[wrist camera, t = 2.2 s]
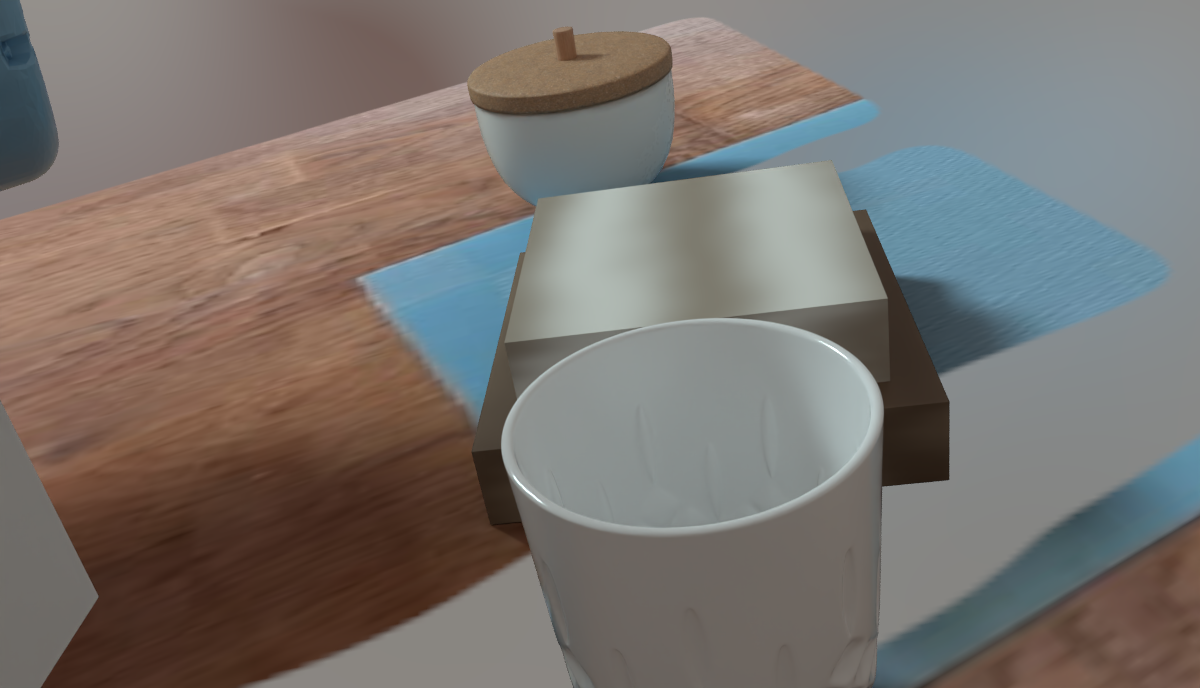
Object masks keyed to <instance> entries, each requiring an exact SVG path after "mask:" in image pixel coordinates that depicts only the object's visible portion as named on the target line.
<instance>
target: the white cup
mask: <svg viewBox="0 0 1200 688" xmlns="http://www.w3.org/2000/svg"><path fill="white" fill-rule="evenodd" d="M883 429H884V405H883V399H882V395H881V391H880V389H879V386H878V384H877V382H876V380H875V379H874V377H873V375H872V374H871V373H870V371H869V370H868V369H867V368H866V366H865V365H864V364H863V363H862V362H861V361H860V360H859V359H858V358H856V357H855V356H854V355H853V354H851V353H850V352H849V351H847V350H846V349H844V348H843V347H841V346H840V345H838V344H836V343H834V342H832V341H830V340H828V339H826V338H824V337H822V336H819V335H817V334H814V333H812V332H809V331H806V330H803V329H800V328H796V327H792V326H788V325H784V324H779V323H774V322H768V321H761V320H752V319H739V318H704V319H690V320H681V321H674V322H667V323H661V324H656V325H651V326H647V327H642V328H638V329H635V330H631V331H627V332H624V333H621V334H618V335H615V336H612V337H609V338H606V339H604V340H601V341H599V342H596V343H594V344H592V345H589V346H587V347H585V348H583V349H581V350H579V351H577V352H575V353H573V354H571V355H569V356H568V357H566V358H564V359H563V360H561V361H559V362H558V363H556V364H555V365H553V366H552V367H551V368H549V369H548V370H547V371H545V372H544V373H543V374H541V375H540V376H539V377H538V378H537V379H536V380H534V381H533V382H532V383H531V384H530V385H529V386H528V387H527V388H526V390H525V391H524V392H523V393H522V394H521V395H520V397H519V398H518V399H517V401H516V402H515V404H514V405H513V407H512V409H511V410H510V412H509V414H508V416H507V419H506V421H505V424H504V427H503V431H502V438H501V452H502V458H503V462H504V466H505V469H506V472H507V475H508V478H509V482H510V485H511V488H512V491H513V495H514V498H515V501H516V505H517V508H518V511H519V514H520V518H521V521H522V524H523V527H524V531H525V534H526V537H527V541H528V544H529V547H530V551H531V554H532V558H533V561H534V564H535V567H536V571H537V574H538V578H539V581H540V585H541V588H542V591H543V595H544V598H545V602H546V605H547V608H548V611H549V615H550V618H551V622H552V625H553V628H554V632H555V635H556V638H557V641H558V643H559V645H560V647H561V649H562V652H563V656H564V659H565V663H566V666H567V669H568V673H569V676H570V679H571V682H572V685H573V688H872V686H873V684H874V681H875V676H876V664H877V636H878V625H879V609H880V573H881V571H880V570H881V516H882V513H881V512H882V468H883Z"/></svg>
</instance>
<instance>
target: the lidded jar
mask: <svg viewBox="0 0 1200 688" xmlns="http://www.w3.org/2000/svg"><path fill="white" fill-rule="evenodd" d="M553 36H554V39H552V40H547V41H542V42H538V43H535V44H531V45H528V46H524V47H521V48H518V49H514V50H512V51H509V52H507V53H504V54H502V55H499V56H497V57H495V58H493V59H491V60H489V61H487V62H486V63H484V64H482V65H481V66H479V67H478V68H476V69H475V70H474V71H473V72H472V73H471V75H470V77H469V78H468V83H467V86H468V91H469V95H470V98H471V101H472V102H473V104H474V106H475V111H476V116H477V120H478V124H479V128H480V131H481V135H482V138H483V141H484V143H485V146H486V149H487V152H488V154H489V156H490V158H491V160H492V162H493V164H494V166H495V168H496V170H497V172H498V173H499V175H500V176H501V178H502V179H503V180H504V182H505V183H506V184H507V185H508V186H509V187H510V188H511V189H512V190H513V191H514V192H515V193H516V194H517V195H518V196H520V197H521V198H522V199H524V200H525V201H527V202H528V203H530V204H532V205H534V206H537V201H538V198H546V197H554V196H561V195H569V194H577V193H584V192H592V191H600V190H607V189H615V188H622V187H630V186H638V185H645V184H651V182H652V181H653V180H654V179H655V178H656V176H657V175H658V173H659V172H660V170H661V169H662V167H663V165H664V163H665V160H666V158H667V156H668V154H669V151H670V147H671V143H672V139H673V131H674V102H675V100H674V88H673V79H672V71H671V69H672V52H671V47H670V45H669V44H668V43H667V42H666V41H665V40H664V39H662V38H660V37H657V36H655V35H650V34H646V33H637V32H623V31H622V32H598V33H589V34H581V35H573V29H572V27H561V28H557V29H555V30H553Z"/></svg>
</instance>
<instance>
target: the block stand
mask: <svg viewBox="0 0 1200 688" xmlns="http://www.w3.org/2000/svg"><path fill="white" fill-rule="evenodd" d="M704 318H739V319H752V320H761V321H768V322H774V323H779V324H784V325H788V326H792V327H796V328H800V329H803V330H806V331H809V332H812V333H814V334H817V335H819V336H822V337H824V338H826V339H828V340H830V341H832V342H834V343H836V344H838V345H840V346H841V347H843V348H844V349H846V350H847V351H849V352H850V353H851V354H853V355H854V356H855V357H856V358H858V359H859V360H860V361H861V362H862V363H863V364H864V365H865V366H866V368H867V369H868V370H869V371H870V373H871V374H872V375H873V377H874V379H875V380H876V382H877V384H878V386H879V389H880V391H881V395H882V399H883V405H884V429H883V468H882V486H893V485H902V484H913V483H924V482H933V481H944V480H949V400H948V398H947V395H946V393H945V391H944V388H943V386H942V383H941V381H940V379H939V377H938V374H937V372H936V370H935V367H934V365H933V363H932V360H931V358H930V356H929V353H928V351H927V349H926V347H925V344H924V342H923V340H922V337H921V335H920V333H919V330H918V328H917V326H916V324H915V321H914V319H913V317H912V314H911V312H910V310H909V307H908V305H907V303H906V301H905V298H904V296H903V294H902V291H901V289H900V287H899V284H898V282H897V280H896V277H895V275H894V273H893V271H892V268H891V266H890V264H889V261H888V259H887V257H886V254H885V252H884V250H883V248H882V245H881V243H880V241H879V238H878V236H877V234H876V231H875V229H874V227H873V225H872V222H871V220H870V218H869V215H868V213H867V211H866V210H858V211H852V209H851V206H850V204H849V201H848V199H847V197H846V194H845V192H844V189H843V187H842V184H841V182H840V179H839V177H838V174H837V172H836V170H835V167H834V165H833V162H832V160H829V161H821V162H813V163H806V164H798V165H791V166H783V167H775V168H768V169H760V170H753V171H745V172H737V173H729V174H722V175H714V176H706V177H699V178H691V179H684V180H676V181H668V182H661V183H653V184H645V185H638V186H630V187H622V188H615V189H607V190H600V191H592V192H584V193H577V194H569V195H561V196H554V197H546V198H538V201H537V206H536V210H535V214H534V218H533V223H532V227H531V231H530V235H529V240H528V244H527V248H526V252H523V253H520V256H519V260H518V264H517V268H516V272H515V276H514V280H513V284H512V288H511V292H510V297H509V301H508V305H507V309H506V313H505V317H504V321H503V325H502V329H501V333H500V337H499V342H498V346H497V350H496V354H495V358H494V362H493V366H492V370H491V374H490V378H489V383H488V387H487V391H486V395H485V399H484V403H483V407H482V411H481V415H480V419H479V423H478V428H477V432H476V436H475V440H474V444H473V448H472V455H473V459H474V463H475V467H476V471H477V475H478V479H479V482H480V486H481V490H482V494H483V498H484V502H485V505H486V509H487V513H488V517H489V521H490V525H492V524H502V523H513V522H522V521H521V518H520V514H519V511H518V508H517V505H516V501H515V498H514V495H513V491H512V488H511V485H510V482H509V478H508V475H507V472H506V469H505V466H504V462H503V458H502V452H501V438H502V431H503V427H504V424H505V421H506V419H507V416H508V414H509V412H510V410H511V409H512V407H513V405H514V404H515V402H516V401H517V399H518V398H519V397H520V395H521V394H522V393H523V392H524V391H525V390H526V388H527V387H528V386H529V385H530V384H531V383H532V382H533V381H534V380H536V379H537V378H538V377H539V376H540V375H541V374H543V373H544V372H545V371H547V370H548V369H549V368H551V367H552V366H553V365H555V364H556V363H558V362H559V361H561V360H563V359H564V358H566V357H568V356H569V355H571V354H573V353H575V352H577V351H579V350H581V349H583V348H585V347H587V346H589V345H592V344H594V343H596V342H599V341H601V340H604V339H606V338H609V337H612V336H615V335H618V334H621V333H624V332H627V331H631V330H635V329H638V328H642V327H647V326H651V325H656V324H661V323H667V322H674V321H681V320H690V319H704Z"/></svg>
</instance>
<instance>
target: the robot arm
mask: <svg viewBox="0 0 1200 688" xmlns="http://www.w3.org/2000/svg"><path fill="white" fill-rule="evenodd" d="M29 36H30V34H29V31H28V28H27V26H26V22H25V19H24V16H23V10H22V7H21V4H20V0H0V191H3V190H6V189H9V188H12V187H15V186H18V185H21V184H24V183H27V182H30V181H33V180H35V179H37V178H39V177H40V176H41V175H43V174H45V173H46V172H47V171H48V170H49V169H50V167H51V166H52V164H53V163H54V161H55V159H56V156H57V153H58V147H59V142H58V133H57V128H56V124H55V120H54V115H53V111H52V108H51V104H50V101H49V97H48V94H47V90H46V86H45V83H44V80H43V76H42V73H41V70H40V67H39V64H38V61H37V57H36V54H35V51H34V49H33V46H32V45H31V42H30V39H29ZM98 597H99V596H98V594H97V592H96V590H95V588H94V586H93V584H92V582H91V580H90V578H89V576H88V574H87V572H86V570H85V568H84V566H83V564H82V562H81V560H80V558H79V556H78V554H77V552H76V550H75V548H74V546H73V544H72V542H71V540H70V538H69V536H68V534H67V532H66V530H65V528H64V526H63V524H62V522H61V520H60V518H59V516H58V514H57V512H56V510H55V508H54V506H53V504H52V502H51V500H50V498H49V496H48V494H47V492H46V491H45V489H44V487H43V485H42V483H41V481H40V479H39V477H38V475H37V473H36V471H35V469H34V467H33V465H32V463H31V461H30V459H29V457H28V455H27V453H26V451H25V449H24V447H23V445H22V443H21V441H20V439H19V437H18V435H17V433H16V431H15V429H14V427H13V425H12V423H11V421H10V419H9V417H8V415H7V413H6V411H5V409H4V407H3V405H2V403H1V401H0V688H41V686H42V685H43V683H44V682H45V680H46V678H47V677H48V675H49V674H50V672H51V671H52V669H53V667H54V666H55V664H56V663H57V661H58V660H59V658H60V657H61V655H62V653H63V652H64V650H65V649H66V647H67V646H68V644H69V643H70V641H71V639H72V638H73V636H74V635H75V633H76V632H77V630H78V628H79V627H80V625H81V624H82V622H83V621H84V619H85V618H86V616H87V614H88V613H89V611H90V610H91V608H92V607H93V605H94V603H95V602H96V600H97V599H98Z"/></svg>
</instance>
